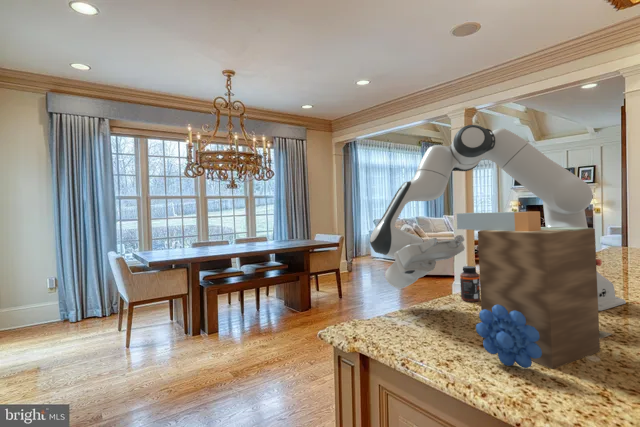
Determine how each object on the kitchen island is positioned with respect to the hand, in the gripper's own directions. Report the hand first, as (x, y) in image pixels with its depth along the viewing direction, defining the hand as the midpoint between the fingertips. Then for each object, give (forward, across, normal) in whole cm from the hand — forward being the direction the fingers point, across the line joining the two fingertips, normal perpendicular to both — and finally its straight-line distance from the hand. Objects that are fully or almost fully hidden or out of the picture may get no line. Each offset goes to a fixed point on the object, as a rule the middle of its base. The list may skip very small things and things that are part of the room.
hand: (448, 238), depth 95 cm
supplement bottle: (-25, -24, -13) cm, 37 cm away
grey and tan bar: (+14, 0, -5) cm, 15 cm away
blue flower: (+9, +11, -32) cm, 35 cm away
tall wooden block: (+6, -4, -31) cm, 32 cm away
